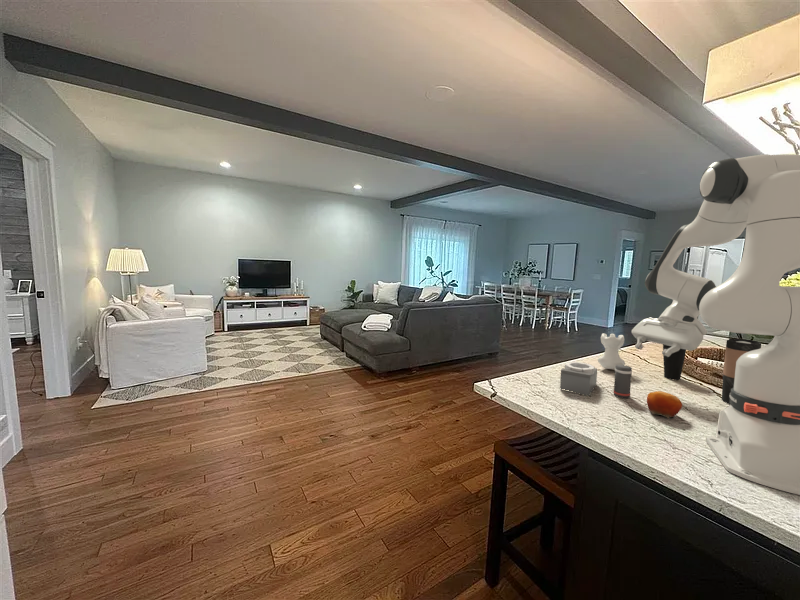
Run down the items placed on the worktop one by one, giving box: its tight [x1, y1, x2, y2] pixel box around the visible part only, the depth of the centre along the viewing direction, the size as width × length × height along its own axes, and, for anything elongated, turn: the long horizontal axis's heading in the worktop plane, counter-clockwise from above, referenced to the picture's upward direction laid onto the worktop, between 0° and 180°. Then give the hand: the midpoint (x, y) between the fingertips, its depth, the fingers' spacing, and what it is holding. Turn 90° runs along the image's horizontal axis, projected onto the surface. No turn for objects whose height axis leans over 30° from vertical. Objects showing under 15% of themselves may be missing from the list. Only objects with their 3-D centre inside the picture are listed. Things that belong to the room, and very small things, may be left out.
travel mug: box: [721, 338, 762, 404], centre depth 103 cm, size 8×8×20 cm
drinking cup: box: [662, 344, 687, 381], centre depth 126 cm, size 8×8×20 cm
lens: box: [613, 364, 633, 400], centre depth 109 cm, size 5×5×10 cm
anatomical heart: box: [597, 332, 626, 371], centre depth 137 cm, size 10×11×15 cm
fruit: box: [646, 390, 683, 420], centre depth 95 cm, size 8×8×8 cm
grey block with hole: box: [559, 361, 598, 397], centre depth 118 cm, size 14×9×8 cm, turn 140°
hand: (650, 351), depth 111 cm, fingers open, 8 cm apart
